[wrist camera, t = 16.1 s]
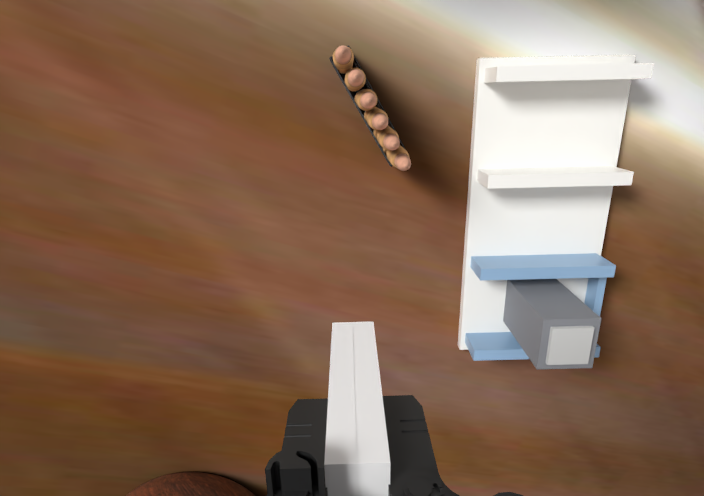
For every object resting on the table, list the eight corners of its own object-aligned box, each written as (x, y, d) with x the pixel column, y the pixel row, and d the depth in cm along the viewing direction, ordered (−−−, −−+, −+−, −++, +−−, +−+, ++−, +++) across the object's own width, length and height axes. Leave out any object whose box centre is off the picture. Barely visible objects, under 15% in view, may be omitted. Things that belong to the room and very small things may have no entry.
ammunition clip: (403, 151, 43) (424, 171, 32) (387, 161, 43) (401, 184, 32) (347, 48, 40) (347, 29, 29) (329, 59, 40) (323, 46, 29)
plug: (507, 278, 46) (545, 322, 38) (554, 277, 47) (604, 320, 38) (503, 320, 48) (538, 372, 39) (548, 319, 48) (594, 370, 39)
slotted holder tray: (476, 58, 40) (492, 54, 36) (629, 55, 40) (662, 50, 36) (457, 344, 50) (468, 368, 46) (580, 341, 50) (602, 364, 46)
